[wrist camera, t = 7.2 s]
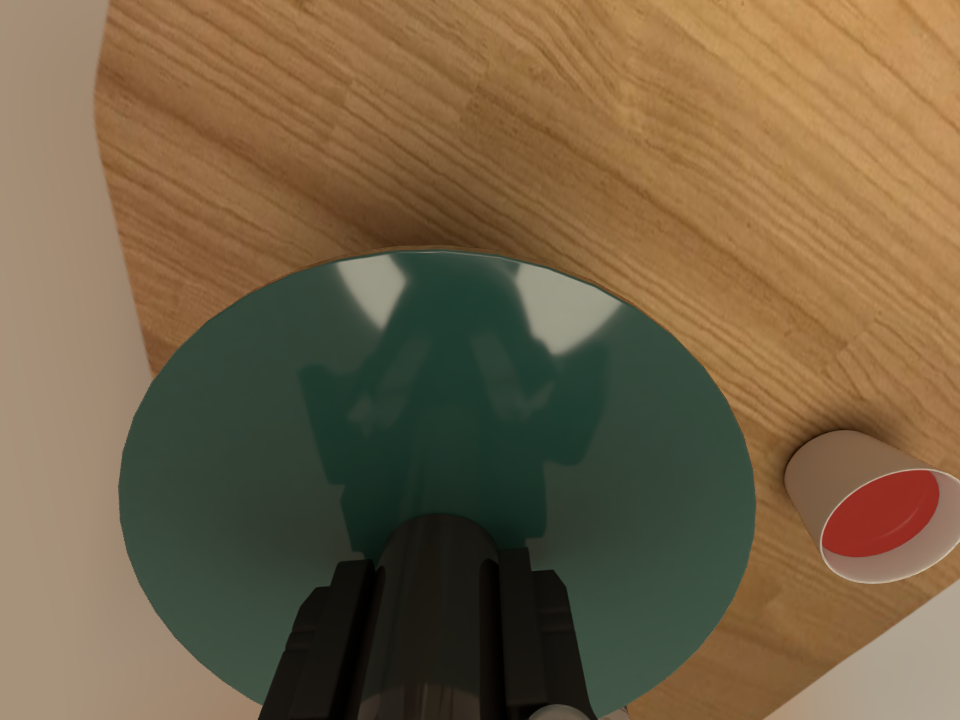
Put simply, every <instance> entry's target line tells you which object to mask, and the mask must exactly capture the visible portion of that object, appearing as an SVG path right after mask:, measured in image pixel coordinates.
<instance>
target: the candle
mask: <svg viewBox="0 0 960 720" xmlns="http://www.w3.org/2000/svg"><path fill="white" fill-rule="evenodd" d="M784 482H785V488H786V491H787V493H788V496H789V498H790V500H791V501H792V503H793V505H794V507H795V509H796V511H797V513H798V515H799V516H800V518H801V520H802V522H803V524H804V526H805V527H806V529H807V531H808V533H809V535H810V537H811V538H812V540H813V542H814V544H815V546H816V548H817V549H818V551H819V553H820V555H821V557H822V558H823V560H824V562H825V563H826V565H827V566H828V567H829V568H830V569H831V570H832V571H833V572H834V573H836V574H837V575H839V576H841V577H843V578H845V579H847V580H850V581H854V582H859V583H869V584H876V583H887V582H893V581H897V580H901V579H904V578H907V577H910V576H913V575H915V574H918V573H920V572H922V571H924V570H926V569H928V568H929V567H931V566H933V565H934V564H936V563H937V562H939V561H940V560H941V559H943V558H944V557H945V556H946V555H948V554H949V553H950V552H951V551H952V550H953V549H954V548H955V547H956V546H957V544H958V543H959V542H960V480H958V479H957V478H956V477H954V476H952V475H951V474H949V473H947V472H945V471H943V470H941V469H938V468H936V467H934V466H932V465H930V464H928V463H926V462H924V461H922V460H920V459H918V458H916V457H914V456H912V455H909V454H907V453H905V452H903V451H901V450H899V449H897V448H895V447H893V446H891V445H889V444H887V443H884V442H882V441H880V440H878V439H876V438H874V437H872V436H869V435H867V434H864V433H861V432H857V431H852V430H839V431H833V432H829V433H825V434H823V435H820V436H818V437H816V438H814V439H812V440H810V441H809V442H807V443H806V444H805V445H803V446H802V447H801V448H800V449H799V450H798V451H797V452H796V453H795V454H794V455H793V457H792V458H791V460H790V461H789V463H788V466H787V468H786V471H785V477H784Z"/></svg>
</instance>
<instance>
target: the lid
mask: <svg viewBox="0 0 960 720" xmlns="http://www.w3.org/2000/svg"><path fill="white" fill-rule="evenodd" d="M118 491H119V510H120V523H121V527H122V532H123V537H124V541H125V546H126V550H127V554H128V556H129V559H130V561H131V564H132V567H133V569H134V572H135V574H136V577H137V579H138V582H139V584H140V586H141V588H142V589H143V591H144V593H145V595H146V596H147V598H148V600H149V602H150V603H151V605H152V607H153V609H154V610H155V612H156V613H157V615H158V616H159V617H160V618H161V620H162V621H163V623H164V624H165V625H166V626H167V628H168V629H169V630H170V632H171V633H172V634H173V636H174V637H175V638H176V639H177V640H178V641H179V642H180V643H181V644H182V645H183V646H184V647H185V648H186V649H187V650H188V651H189V652H190V653H191V654H192V655H193V656H194V657H195V658H196V659H197V661H199V662H200V663H201V664H202V665H204V666H205V667H206V668H207V669H208V670H210V671H211V672H212V673H213V674H215V675H216V676H217V677H218V678H219V679H221V680H222V681H223V682H225V683H226V684H228V685H229V686H231V687H232V688H234V689H236V690H237V691H239V692H240V693H241V694H243V695H245V696H246V697H248V698H249V699H251V700H253V701H254V702H256V703H259V704H260V705H262V706H263V704H264V702H265V699H266V696H267V694H268V691H269V688H270V686H271V683H272V680H273V678H274V675H275V672H276V670H277V667H278V664H279V662H280V659H281V656H282V654H283V652H284V651H285V645H286V643H287V640H288V637H289V635H290V633H292V627H293V624H294V621H295V619H296V616H297V613H298V611H299V608H300V606H301V605H302V604H303V602H304V601H305V600H306V599H307V597H308V596H309V595H310V594H311V593H312V591H313V590H314V589H315V588H316V587H324V586H330V584H331V581H332V578H333V575H334V572H335V569H336V566H337V564H338V563H339V562H340V561H351V560H364V559H371V560H372V561H373V563H374V567H375V571H376V574H375V578H374V583H373V587H372V591H371V596H370V600H369V604H368V609H367V613H366V617H365V622H364V626H363V630H362V635H361V639H360V644H359V648H358V652H357V657H356V661H355V665H354V670H353V674H352V678H351V683H350V687H349V691H348V696H347V700H346V704H345V709H344V713H343V717H342V720H508V719H507V710H506V697H505V678H504V659H503V640H502V621H501V602H500V583H499V564H498V549H510V548H523V547H528V549H529V556H530V564H531V571H540V570H553V569H554V571H555V572H556V574H557V575H558V576H559V578H560V579H561V580H562V582H563V583H564V585H565V586H566V588H567V593H568V598H569V603H570V608H571V613H572V618H573V623H574V629H575V633H576V637H577V642H578V647H579V652H580V657H581V662H582V667H583V672H584V677H585V682H586V687H587V692H588V697H589V701H590V705H591V707H592V710H593V712H594V714H595V715H596V717H597V719H600V718H602V717H604V716H606V715H608V714H610V713H612V712H614V711H616V710H618V709H620V708H622V707H624V706H626V705H628V704H629V703H631V702H633V701H634V700H636V699H637V698H639V697H641V696H642V695H644V694H645V693H647V692H649V691H650V690H652V689H653V688H655V687H656V686H657V685H658V684H660V683H661V682H662V681H664V680H665V679H666V678H667V677H669V676H670V675H671V674H672V673H674V672H675V671H676V670H677V669H679V668H680V667H681V666H682V665H683V664H684V663H685V662H686V661H687V660H688V659H689V658H690V657H691V656H692V655H693V654H694V653H695V652H696V651H697V650H698V649H699V648H700V647H701V645H702V644H703V643H704V641H705V640H706V639H707V638H708V636H709V635H710V634H711V633H712V631H713V630H714V629H715V628H716V626H717V625H718V624H719V622H720V621H721V619H722V617H723V615H724V614H725V612H726V610H727V609H728V607H729V605H730V604H731V602H732V600H733V599H734V597H735V595H736V592H737V590H738V587H739V585H740V582H741V580H742V577H743V575H744V573H745V570H746V568H747V564H748V559H749V555H750V551H751V547H752V543H753V538H754V529H755V515H756V496H755V486H754V476H753V468H752V464H751V460H750V457H749V453H748V450H747V446H746V443H745V439H744V436H743V433H742V431H741V429H740V426H739V424H738V422H737V420H736V418H735V416H734V414H733V412H732V410H731V408H730V405H729V403H728V401H727V399H726V398H725V396H724V395H723V394H722V392H721V391H720V389H719V388H718V386H717V385H716V384H715V382H714V381H713V379H712V378H711V376H710V375H709V374H708V372H707V371H706V369H705V368H704V366H703V365H702V364H701V363H700V362H699V361H698V360H697V359H696V358H695V357H694V356H693V355H692V354H691V353H690V352H689V351H688V350H687V349H686V348H685V347H684V346H683V345H682V344H681V343H680V342H679V341H678V340H677V339H676V337H675V336H674V335H673V334H672V333H671V332H670V331H669V330H668V329H666V328H665V327H664V326H663V325H661V324H660V323H659V322H657V321H656V320H655V319H653V318H652V317H651V316H649V315H648V314H647V313H645V312H644V311H643V310H641V309H640V308H639V307H638V306H636V305H635V304H634V303H632V302H631V301H629V300H627V299H625V298H624V297H622V296H620V295H618V294H616V293H615V292H613V291H611V290H609V289H607V288H605V287H604V286H602V285H600V284H598V283H596V282H595V281H593V280H591V279H589V278H586V277H583V276H581V275H578V274H576V273H573V272H570V271H568V270H565V269H563V268H560V267H558V266H555V265H552V264H550V263H547V262H544V261H540V260H536V259H532V258H527V257H523V256H519V255H515V254H511V253H506V252H502V251H498V250H491V249H481V248H471V247H462V246H452V245H422V246H393V247H387V248H381V249H375V250H369V251H362V252H356V253H350V254H344V255H341V256H338V257H334V258H331V259H328V260H325V261H321V262H318V263H315V264H312V265H308V266H305V267H302V268H299V269H296V270H294V271H292V272H290V273H288V274H286V275H283V276H281V277H279V278H277V279H275V280H273V281H271V282H269V283H266V284H264V285H262V286H260V287H258V288H256V289H254V290H253V291H251V292H250V293H248V294H247V295H245V296H244V297H242V298H241V299H239V300H238V301H236V302H235V303H233V304H232V305H230V306H229V307H227V308H226V309H224V310H223V311H221V312H220V313H218V314H217V315H215V316H214V317H212V318H211V319H209V320H208V321H207V322H206V323H205V324H204V325H203V326H202V327H201V328H199V329H198V330H197V331H196V332H195V333H194V334H193V335H192V336H191V337H190V338H189V339H188V340H187V341H185V342H184V343H183V344H182V345H181V346H180V347H179V348H178V349H177V350H176V351H175V352H174V354H173V355H172V356H171V358H170V359H169V360H168V362H167V363H166V364H165V365H164V367H163V368H162V369H161V371H160V372H159V373H158V375H157V376H156V377H155V378H154V380H153V381H152V383H151V384H150V386H149V388H148V390H147V392H146V394H145V396H144V398H143V400H142V402H141V404H140V405H139V407H138V409H137V411H136V413H135V415H134V417H133V421H132V424H131V427H130V430H129V433H128V437H127V440H126V443H125V446H124V449H123V453H122V462H121V469H120V478H119V485H118Z"/></svg>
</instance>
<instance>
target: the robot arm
mask: <svg viewBox="0 0 960 720" xmlns="http://www.w3.org/2000/svg"><path fill="white" fill-rule="evenodd" d="M498 564H499V583H500V602H501V621H502V640H503V659H504V678H505V697H506V710H507V719H508V720H598V719H597V717H596V715H595V714H594V712H593V710H592V707H591V705H590V701H589V697H588V692H587V687H586V682H585V677H584V672H583V667H582V662H581V657H580V652H579V647H578V642H577V637H576V633H575V629H574V623H573V618H572V613H571V608H570V603H569V598H568V593H567V588H566V586H565V585H564V583H563V582H562V580H561V579H560V578H559V576H558V575H557V574H556V572H555V571H554V569H553V570H540V571H531V564H530V556H529V549H528V547H523V548H510V549H498ZM375 574H376V571H375V567H374V563H373V561H372V560H371V559H364V560H351V561H340V562H339V563H338V564H337V566H336V569H335V572H334V575H333V578H332V581H331V584H330V586H324V587H316V588H315V589H314V590H313V591H312V593H311V594H310V595H309V596H308V597H307V599H306V600H305V601H304V602H303V604H302V605H301V606H300V608H299V611H298V613H297V616H296V619H295V621H294V624H293V627H292V633H290V635H289V637H288V640H287V643H286V645H285V651H284V652H283V654H282V656H281V659H280V662H279V664H278V667H277V670H276V672H275V675H274V678H273V680H272V683H271V686H270V688H269V691H268V694H267V696H266V699H265V702H264V704H263V707H262V710H261V713H260V715H259V718H258V720H342V717H343V713H344V709H345V704H346V700H347V696H348V691H349V687H350V683H351V678H352V674H353V670H354V665H355V661H356V657H357V652H358V648H359V644H360V639H361V635H362V630H363V626H364V622H365V617H366V613H367V609H368V604H369V600H370V596H371V591H372V587H373V583H374V578H375Z"/></svg>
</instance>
